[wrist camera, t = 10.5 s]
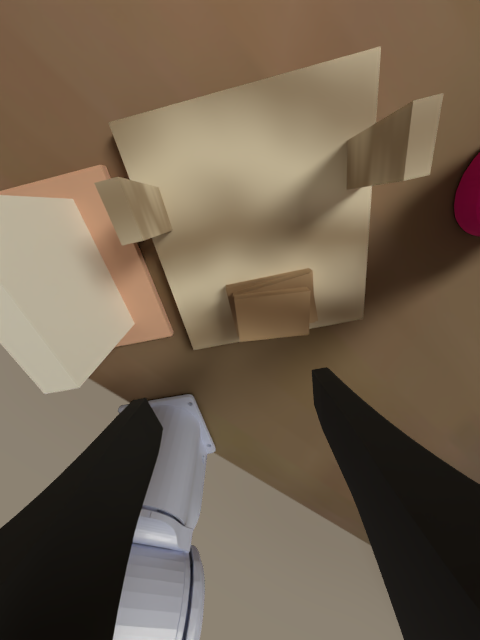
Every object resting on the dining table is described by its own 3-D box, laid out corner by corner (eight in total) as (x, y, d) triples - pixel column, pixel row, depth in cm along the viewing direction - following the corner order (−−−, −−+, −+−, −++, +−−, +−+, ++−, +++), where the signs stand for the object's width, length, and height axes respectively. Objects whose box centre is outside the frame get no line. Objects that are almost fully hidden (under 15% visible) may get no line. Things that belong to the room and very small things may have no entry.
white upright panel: (72, 198, 13) (-69, 191, 7) (135, 323, 17) (79, 388, 11) (43, 206, 14) (-120, 205, 7) (111, 328, 18) (44, 394, 11)
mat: (173, 332, 19) (171, 336, 18) (98, 346, 19) (94, 350, 19) (105, 166, 13) (100, 164, 13) (2, 193, 14) (-7, 192, 13)
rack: (356, 313, 18) (407, 357, 13) (195, 343, 19) (180, 395, 14) (369, 59, 11) (490, -75, 6) (117, 128, 12) (28, 69, 7)
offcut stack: (311, 317, 17) (322, 333, 15) (237, 331, 18) (237, 348, 15) (308, 265, 15) (320, 275, 13) (225, 282, 16) (223, 294, 13)
